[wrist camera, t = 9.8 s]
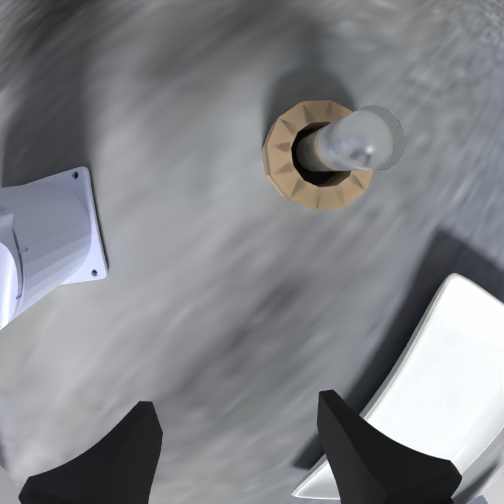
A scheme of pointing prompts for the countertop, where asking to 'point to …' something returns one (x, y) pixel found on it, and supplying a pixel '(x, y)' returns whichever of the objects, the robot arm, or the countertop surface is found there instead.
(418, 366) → the square plate
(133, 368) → the countertop surface
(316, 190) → the wooden bead
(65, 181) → the robot arm
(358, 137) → the cylindrical metal peg
